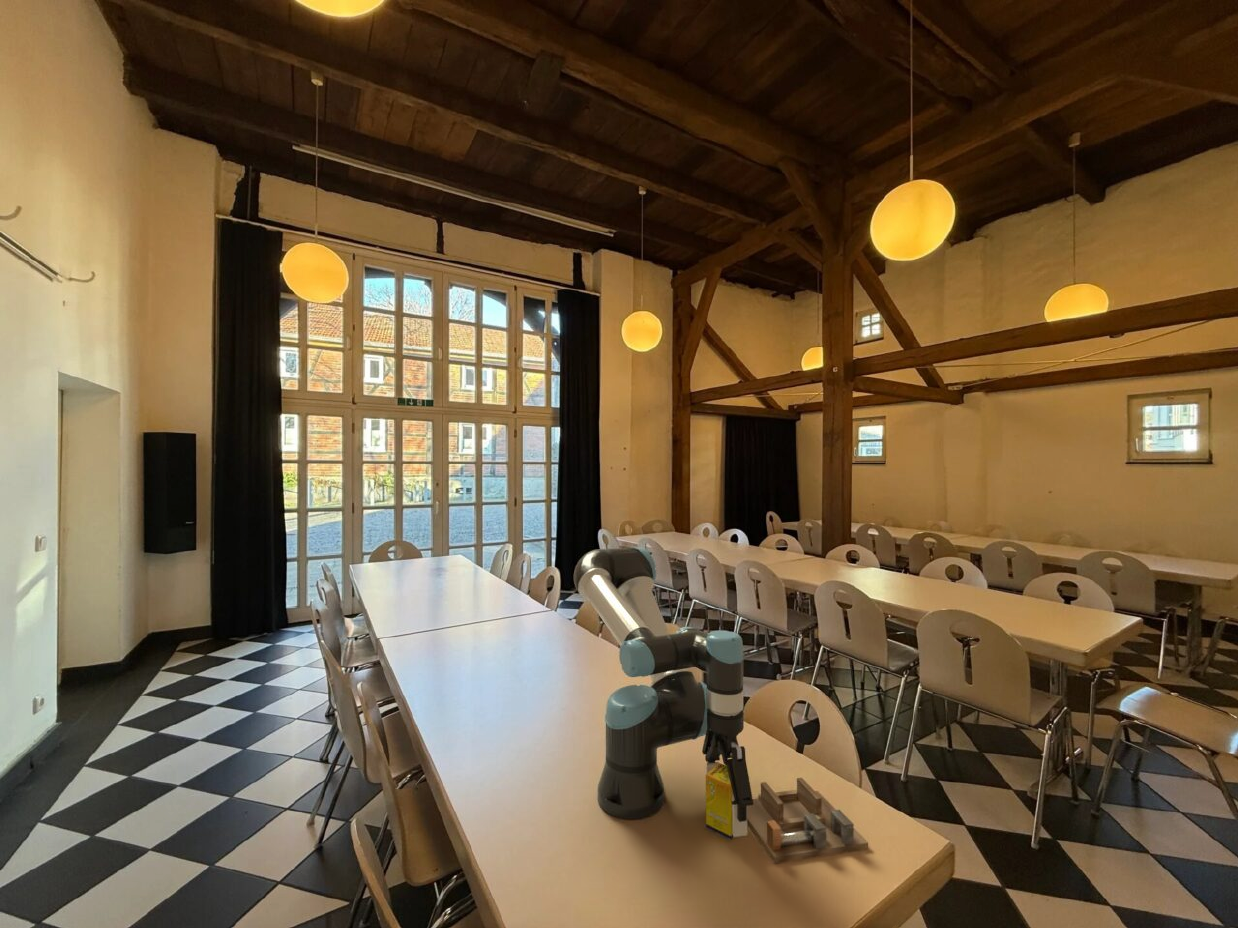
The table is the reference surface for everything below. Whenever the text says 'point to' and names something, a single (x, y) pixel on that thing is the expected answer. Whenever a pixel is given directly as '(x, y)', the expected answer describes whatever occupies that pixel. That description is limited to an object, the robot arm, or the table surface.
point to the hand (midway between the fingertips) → (725, 812)
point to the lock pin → (786, 836)
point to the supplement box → (719, 801)
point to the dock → (802, 823)
